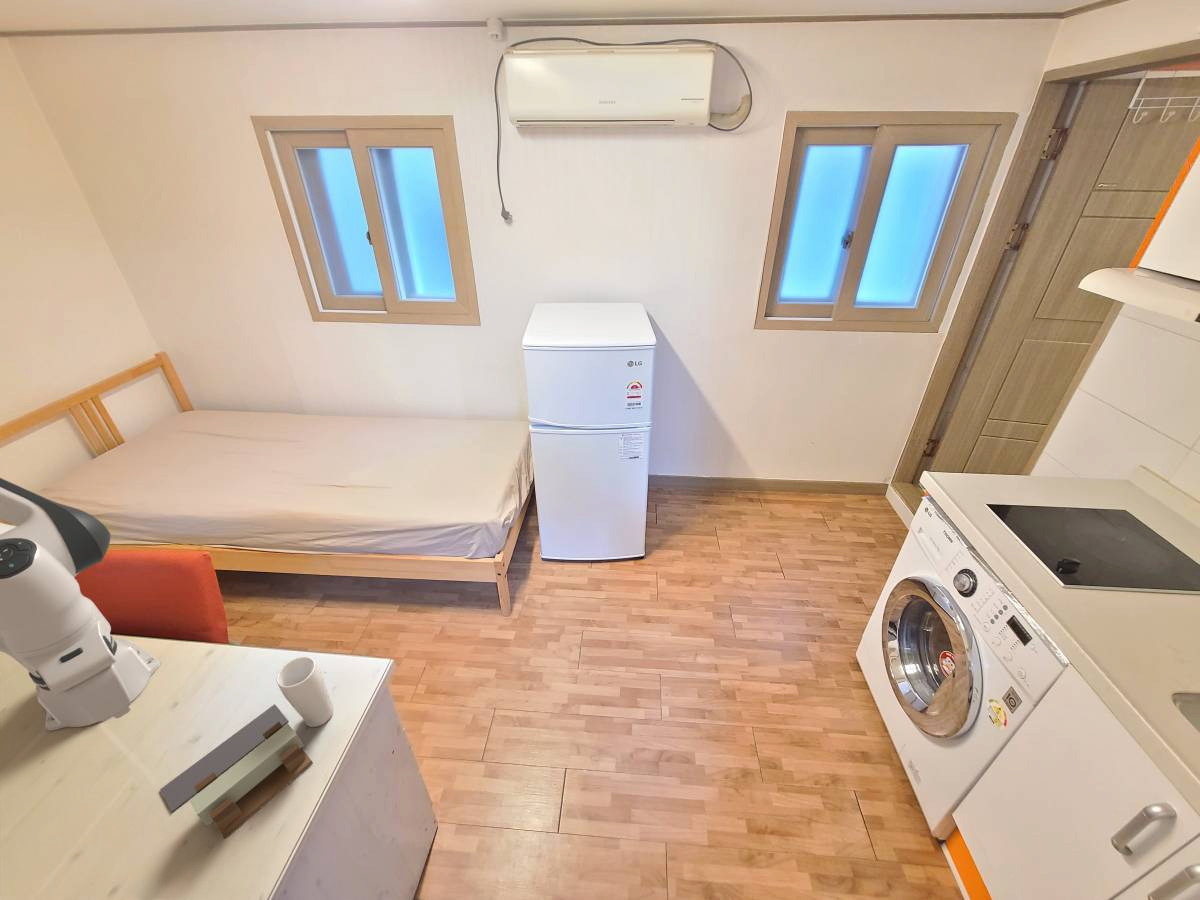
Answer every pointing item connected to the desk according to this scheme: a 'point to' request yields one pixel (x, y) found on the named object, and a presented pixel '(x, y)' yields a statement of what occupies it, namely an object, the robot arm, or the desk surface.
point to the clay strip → (245, 773)
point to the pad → (221, 757)
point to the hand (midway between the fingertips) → (112, 694)
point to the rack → (257, 788)
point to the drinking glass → (306, 690)
